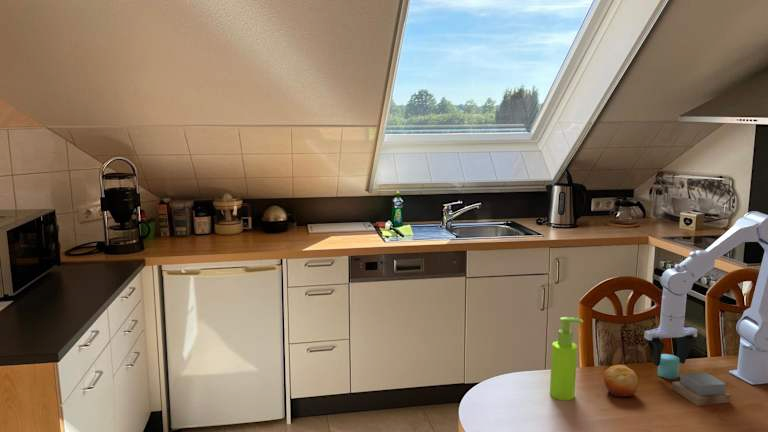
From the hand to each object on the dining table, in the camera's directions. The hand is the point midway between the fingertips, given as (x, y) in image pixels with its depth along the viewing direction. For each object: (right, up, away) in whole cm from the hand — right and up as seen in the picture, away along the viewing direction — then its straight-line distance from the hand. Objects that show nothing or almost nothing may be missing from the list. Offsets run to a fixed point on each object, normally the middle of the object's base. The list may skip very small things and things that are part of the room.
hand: (668, 363), depth 158 cm
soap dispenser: (-31, -5, -11) cm, 33 cm away
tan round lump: (-17, -5, -10) cm, 20 cm away
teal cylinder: (0, -3, +1) cm, 3 cm away
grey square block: (+3, -3, -11) cm, 12 cm away
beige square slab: (+3, -6, -11) cm, 13 cm away
